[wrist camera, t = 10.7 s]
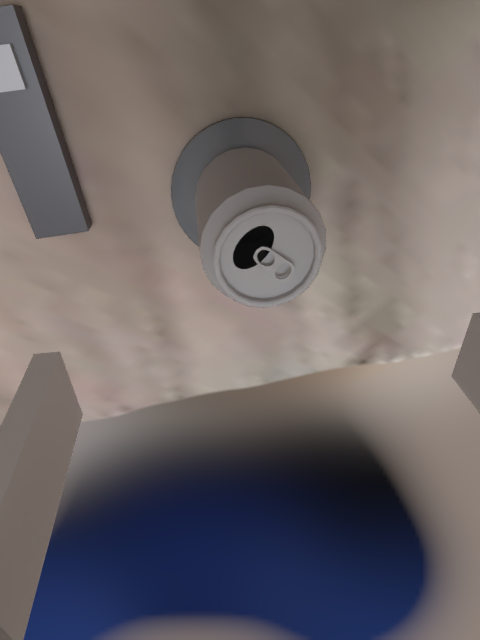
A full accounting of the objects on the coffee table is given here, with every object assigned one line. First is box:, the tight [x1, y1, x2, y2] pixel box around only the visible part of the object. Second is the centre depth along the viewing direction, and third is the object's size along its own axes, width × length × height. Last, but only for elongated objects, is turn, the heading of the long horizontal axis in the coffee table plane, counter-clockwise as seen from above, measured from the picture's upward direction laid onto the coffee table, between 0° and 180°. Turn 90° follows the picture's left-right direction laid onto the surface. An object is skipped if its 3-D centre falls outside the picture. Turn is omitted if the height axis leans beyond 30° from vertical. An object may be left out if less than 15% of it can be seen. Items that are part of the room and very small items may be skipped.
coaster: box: [171, 117, 311, 246], centre depth 33 cm, size 11×11×1 cm
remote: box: [0, 5, 92, 239], centre depth 29 cm, size 14×4×2 cm, turn 7°
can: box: [195, 147, 326, 308], centre depth 28 cm, size 8×8×12 cm
